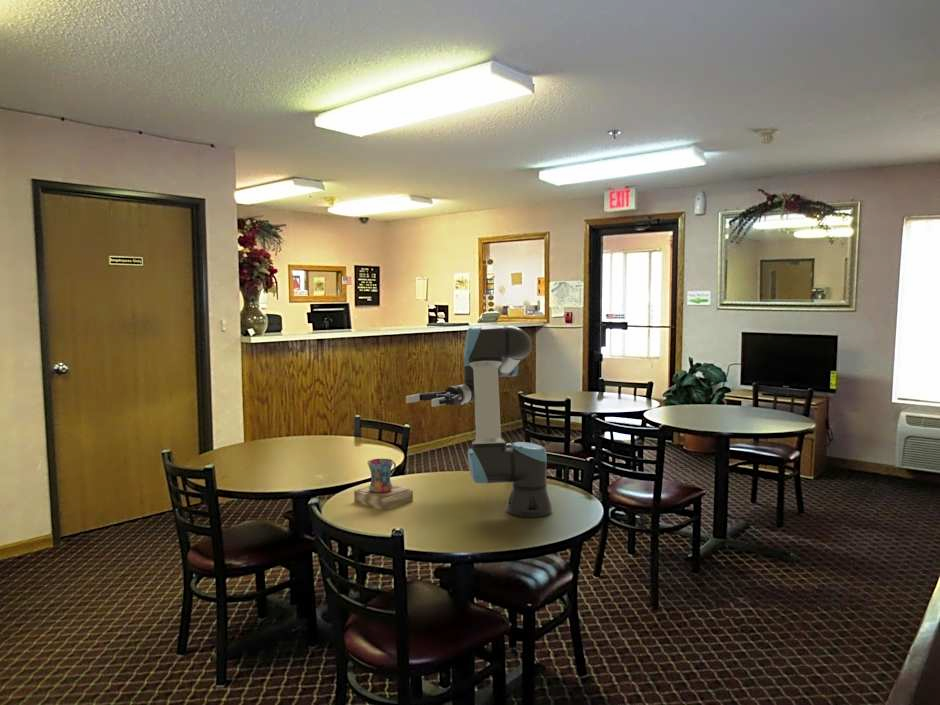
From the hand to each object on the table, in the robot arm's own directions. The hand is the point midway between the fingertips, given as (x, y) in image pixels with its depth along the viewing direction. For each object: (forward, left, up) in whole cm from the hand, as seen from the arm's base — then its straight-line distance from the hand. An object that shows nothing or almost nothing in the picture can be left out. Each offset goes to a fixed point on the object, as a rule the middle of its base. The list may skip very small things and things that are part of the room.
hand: (419, 401), depth 241 cm
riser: (+3, +16, -35) cm, 38 cm away
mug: (+3, +16, -31) cm, 35 cm away
